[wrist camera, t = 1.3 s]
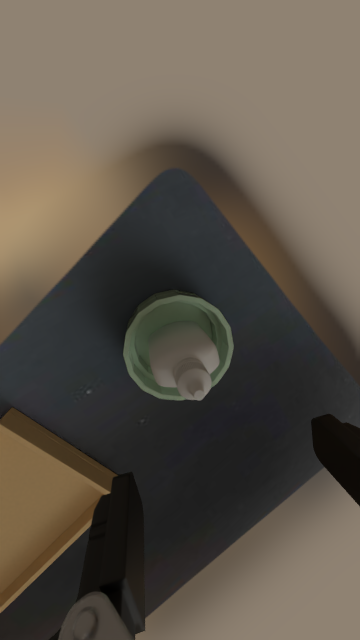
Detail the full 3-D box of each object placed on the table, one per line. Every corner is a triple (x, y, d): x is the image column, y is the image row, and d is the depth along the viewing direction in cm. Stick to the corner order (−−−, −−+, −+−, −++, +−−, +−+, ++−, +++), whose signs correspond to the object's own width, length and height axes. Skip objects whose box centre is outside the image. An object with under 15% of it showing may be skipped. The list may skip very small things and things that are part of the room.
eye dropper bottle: (194, 359, 28) (232, 429, 17) (145, 352, 27) (148, 421, 16) (203, 322, 27) (249, 369, 16) (152, 313, 26) (162, 356, 15)
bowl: (115, 302, 26) (110, 310, 22) (210, 280, 27) (223, 284, 23) (139, 388, 29) (139, 412, 24) (225, 366, 30) (240, 384, 25)
